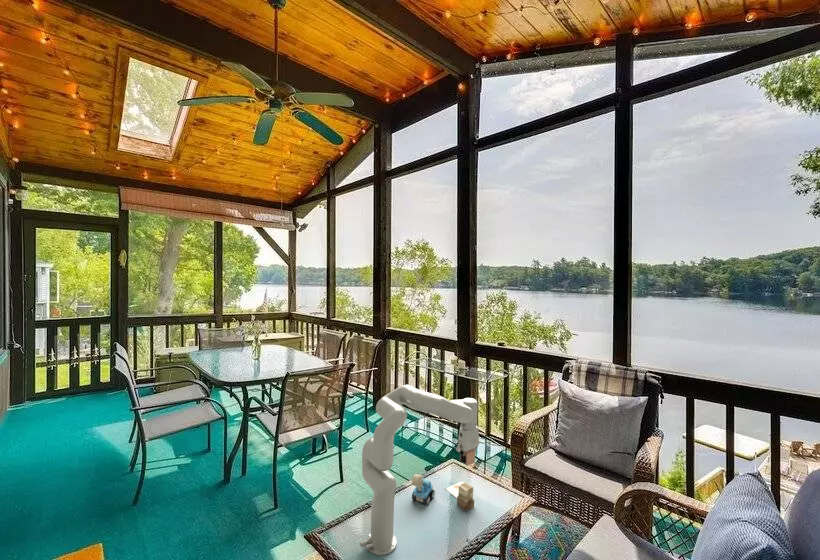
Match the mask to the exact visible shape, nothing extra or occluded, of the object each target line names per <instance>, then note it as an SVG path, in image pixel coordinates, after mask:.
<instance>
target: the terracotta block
mask: <svg viewBox="0 0 820 560" xmlns="http://www.w3.org/2000/svg"><path fill="white" fill-rule="evenodd" d="M463 451H464V450H463ZM463 451H462V452H463ZM459 454H460V453H459ZM465 456H466V464H464V465H465V466H467V467H468V466H470V465H473V464H475V463H476V452H475V450H473V449H470V450H468V451H466V454H465ZM460 459H461V454H460V455H459V460H460Z"/></svg>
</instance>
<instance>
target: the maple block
mask: <svg viewBox="0 0 820 560" xmlns="http://www.w3.org/2000/svg"><path fill="white" fill-rule="evenodd" d="M473 490H474V486H473V485H471V484H469V483H468V482H466V481H465V482H464V483H463V484H461V485H459V492H458V498H460V499H461V500H463V501H464V502H465V503H466V502H468V501H470V500H472V499H474V491H473Z"/></svg>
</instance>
